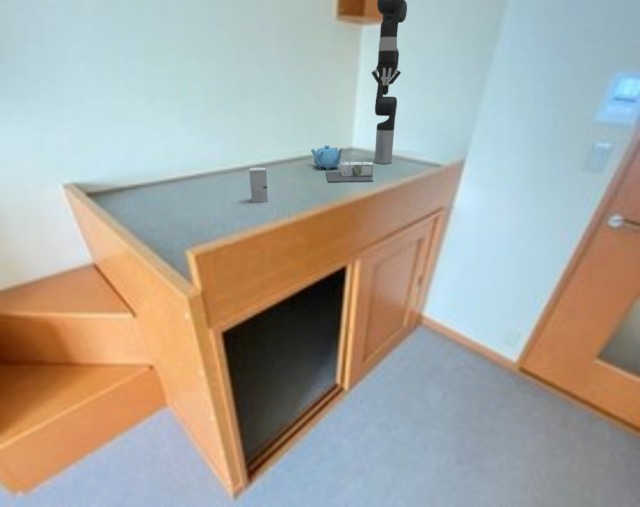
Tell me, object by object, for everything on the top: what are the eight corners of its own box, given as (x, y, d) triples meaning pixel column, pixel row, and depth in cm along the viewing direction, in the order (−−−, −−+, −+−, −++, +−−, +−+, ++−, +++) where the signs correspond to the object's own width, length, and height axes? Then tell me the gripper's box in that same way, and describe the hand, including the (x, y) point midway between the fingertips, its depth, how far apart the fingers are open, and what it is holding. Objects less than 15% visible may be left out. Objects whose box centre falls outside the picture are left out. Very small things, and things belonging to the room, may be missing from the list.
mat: (325, 172, 173) (325, 171, 172) (366, 172, 173) (366, 171, 173) (328, 182, 156) (328, 181, 156) (372, 181, 157) (372, 180, 157)
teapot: (339, 164, 189) (339, 142, 184) (343, 170, 177) (343, 147, 172) (311, 165, 188) (310, 143, 183) (313, 171, 176) (312, 148, 171)
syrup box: (372, 161, 165) (341, 161, 166) (373, 164, 160) (341, 164, 161) (371, 173, 168) (341, 173, 169) (372, 176, 163) (341, 176, 164)
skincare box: (252, 202, 132) (249, 170, 126) (251, 199, 135) (248, 167, 130) (268, 201, 133) (266, 169, 127) (267, 197, 137) (265, 166, 131)
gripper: (400, 50, 152) (397, 94, 160) (370, 50, 152) (368, 94, 159) (405, 49, 145) (401, 95, 153) (373, 49, 145) (371, 95, 153)
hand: (384, 94), depth 156 cm, fingers closed
